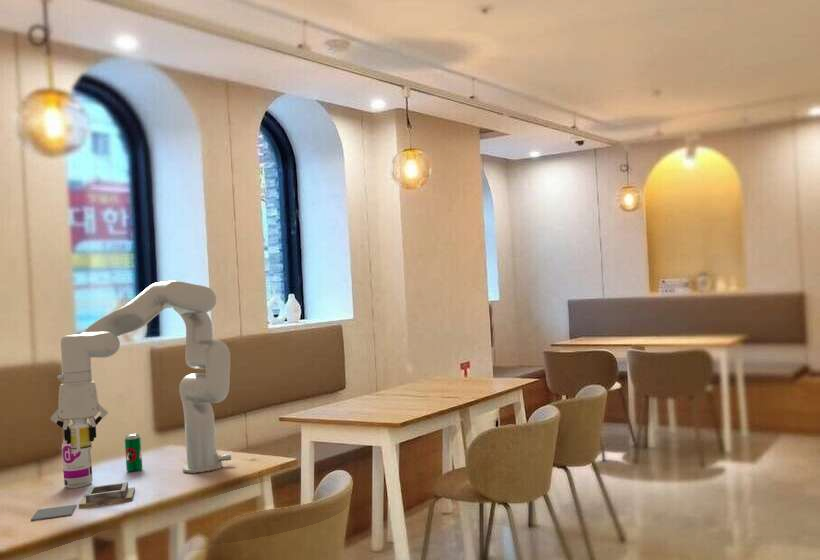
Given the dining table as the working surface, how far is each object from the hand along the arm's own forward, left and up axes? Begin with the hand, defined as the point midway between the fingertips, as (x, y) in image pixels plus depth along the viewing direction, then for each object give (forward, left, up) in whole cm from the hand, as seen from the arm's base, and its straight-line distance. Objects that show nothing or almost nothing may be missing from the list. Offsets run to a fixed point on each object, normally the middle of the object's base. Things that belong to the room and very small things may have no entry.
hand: (80, 441), depth 214 cm
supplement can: (+5, -28, -18) cm, 34 cm away
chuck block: (-6, -4, -18) cm, 19 cm away
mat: (+7, +4, -18) cm, 20 cm away
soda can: (-11, -39, -18) cm, 44 cm away
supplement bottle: (0, 0, -3) cm, 3 cm away
